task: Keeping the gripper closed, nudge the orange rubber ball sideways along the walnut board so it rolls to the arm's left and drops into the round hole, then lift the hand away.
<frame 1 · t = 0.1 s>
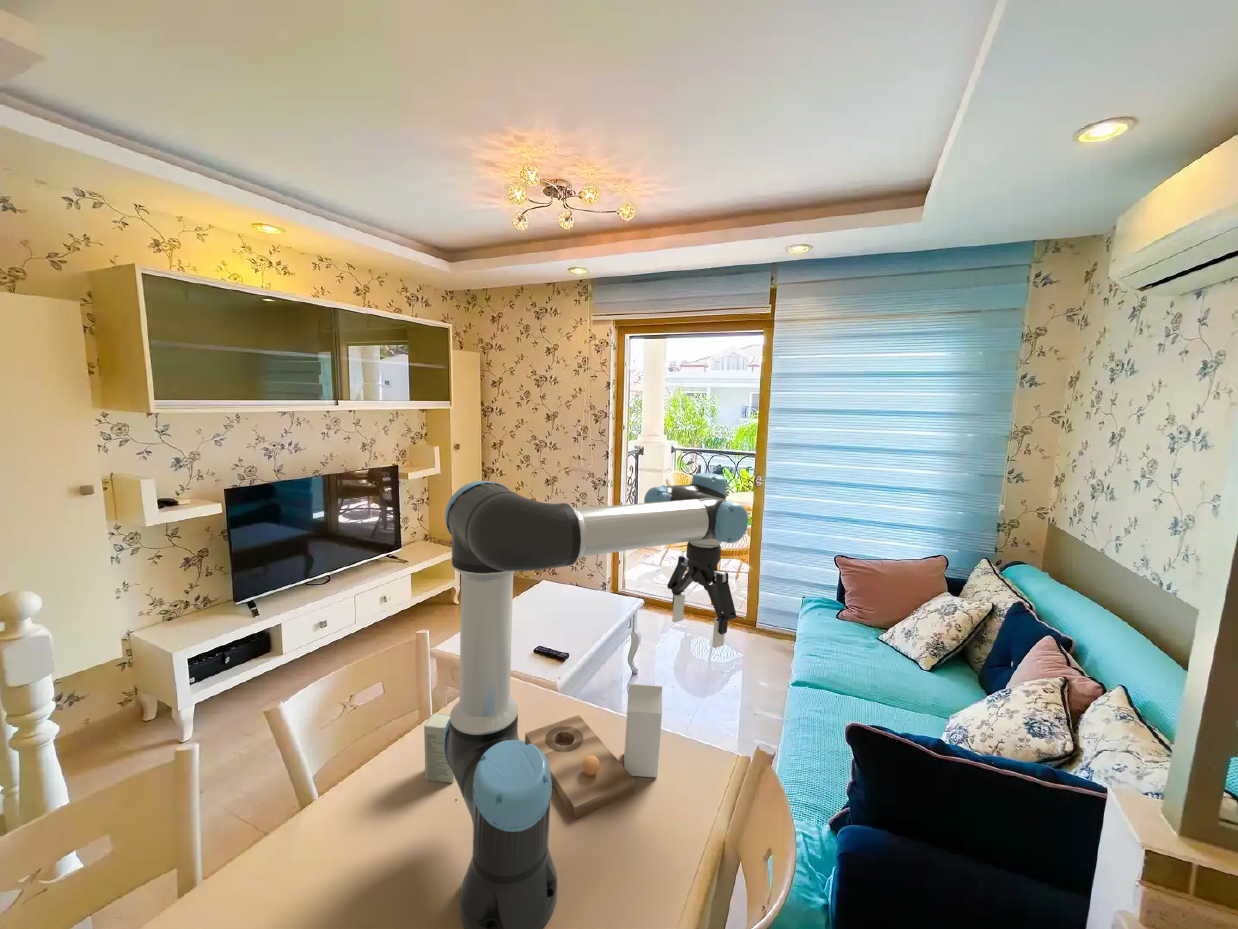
hand: (696, 633, 114), 28 cm above the table, fingers open, 13 cm apart
milk carton: (640, 766, 110), on the table
skincare box: (442, 775, 104), on the table
ball: (591, 765, 104), point 4 cm above the table, touching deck
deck: (576, 765, 109), on the table
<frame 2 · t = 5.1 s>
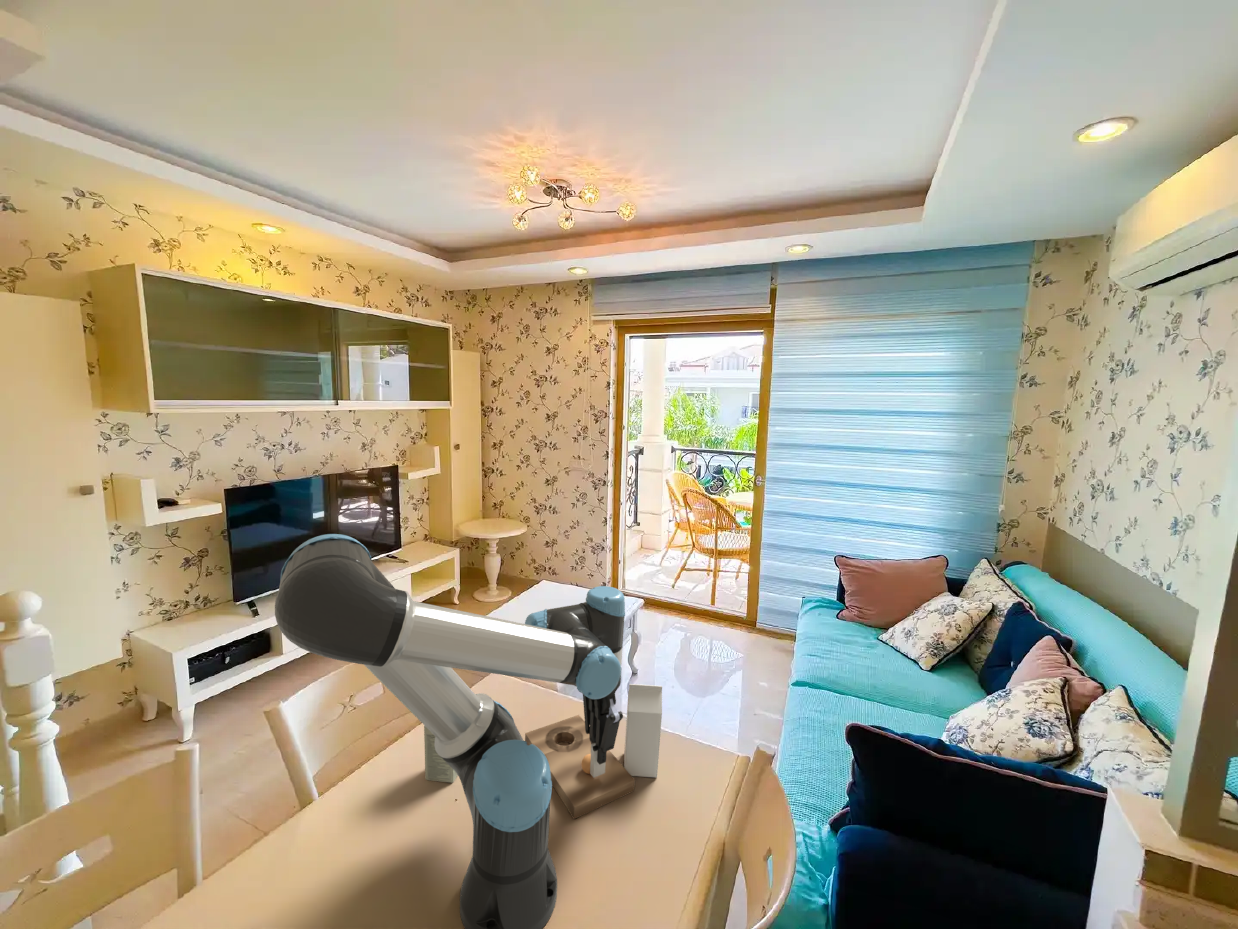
hand: (597, 773, 102), 4 cm above the table, fingers closed
ball: (590, 763, 104), point 4 cm above the table, tilted 14°, touching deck, gripper
everything else where it was.
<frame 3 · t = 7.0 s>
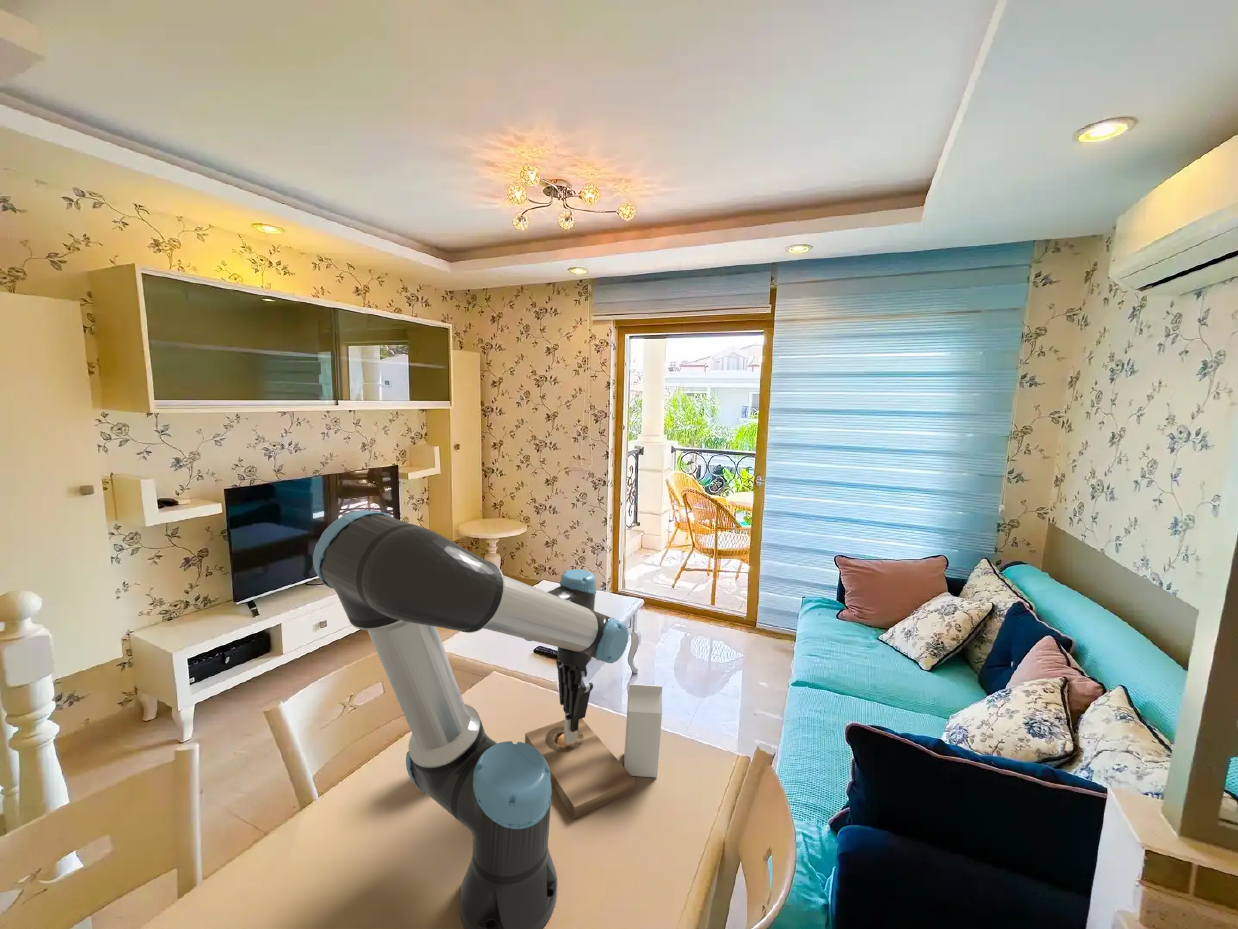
hand: (570, 740, 111), 4 cm above the table, fingers closed
ball: (564, 742, 113), point 2 cm above the table, tilted 38°
everything else where it was.
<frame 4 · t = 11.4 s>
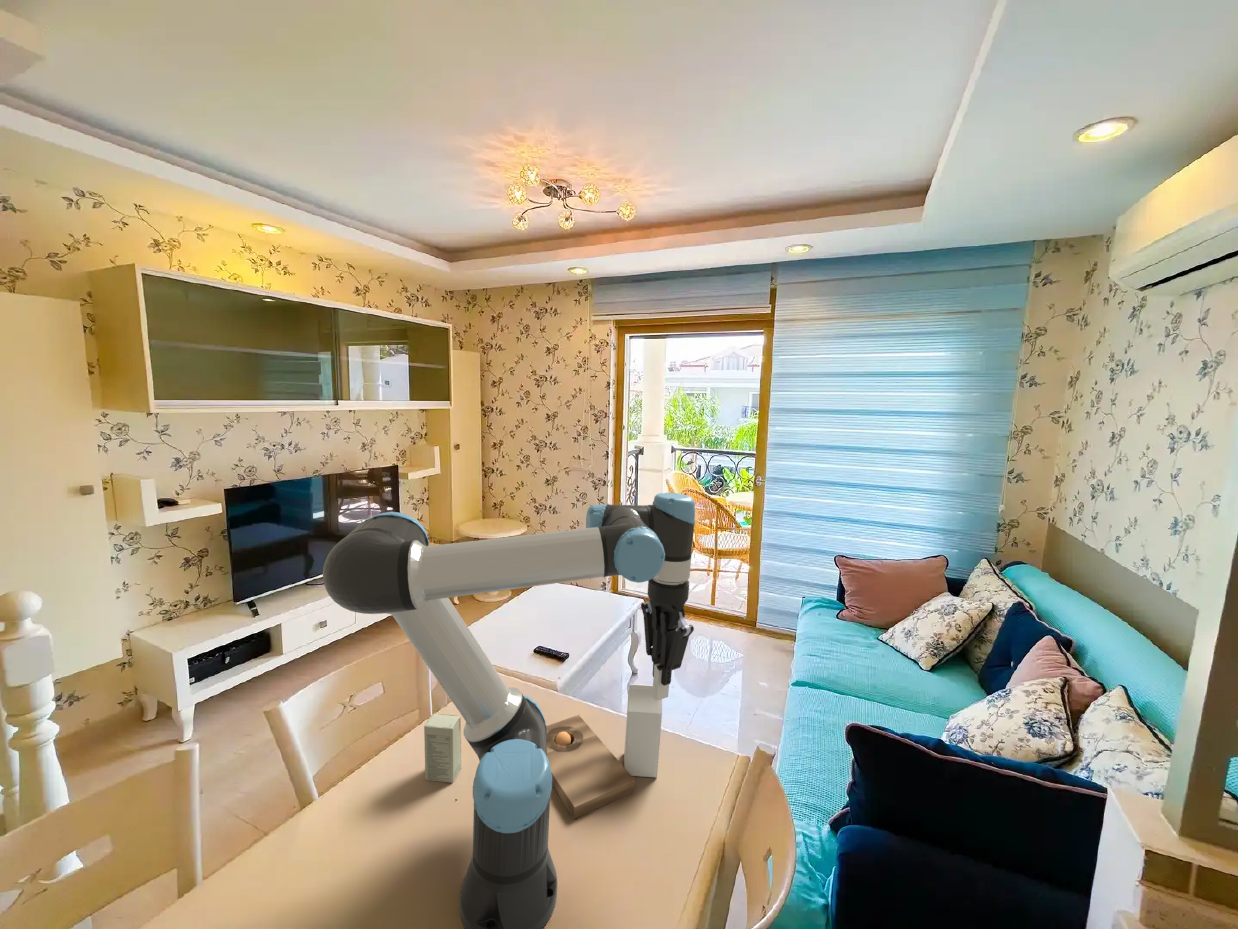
hand: (660, 696, 95), 24 cm above the table, fingers closed
ball: (563, 740, 114), point 2 cm above the table, tilted 65°
everything else where it was.
at the end: ball 0.5 cm from the target spot in the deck, point 1.8 cm above the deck's base; ball touching table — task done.
